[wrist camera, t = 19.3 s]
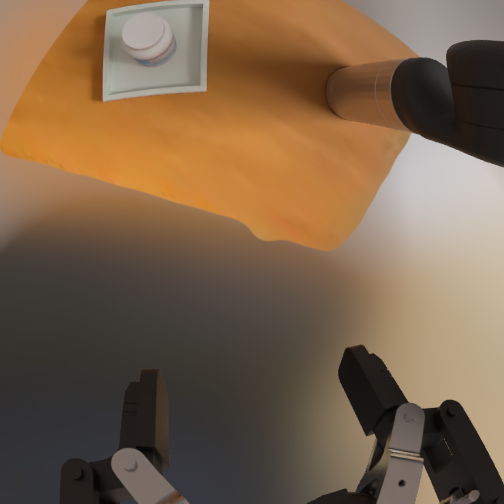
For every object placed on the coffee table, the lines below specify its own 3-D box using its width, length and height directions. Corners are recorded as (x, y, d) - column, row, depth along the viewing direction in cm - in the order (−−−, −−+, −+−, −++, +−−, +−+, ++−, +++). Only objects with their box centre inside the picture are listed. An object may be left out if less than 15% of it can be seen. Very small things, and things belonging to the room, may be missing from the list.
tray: (208, 4, 30) (209, -2, 28) (206, 92, 37) (206, 90, 35) (111, 14, 28) (106, 10, 26) (108, 101, 35) (102, 101, 32)
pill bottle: (128, 45, 31) (105, 26, 21) (165, 23, 30) (155, -3, 20) (146, 76, 34) (129, 65, 24) (184, 53, 33) (179, 35, 23)
